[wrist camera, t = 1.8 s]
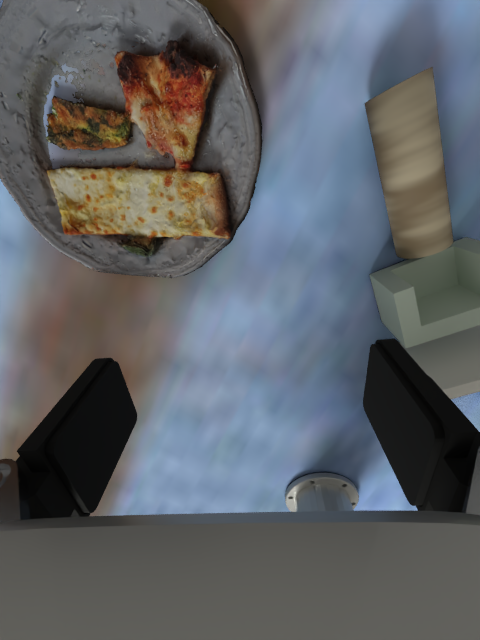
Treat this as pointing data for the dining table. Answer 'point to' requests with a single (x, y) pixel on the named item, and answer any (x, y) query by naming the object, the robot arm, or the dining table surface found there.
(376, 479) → the dining table surface
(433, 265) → the block
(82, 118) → the food plate
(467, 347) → the base
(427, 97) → the dowel
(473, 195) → the dining table surface
